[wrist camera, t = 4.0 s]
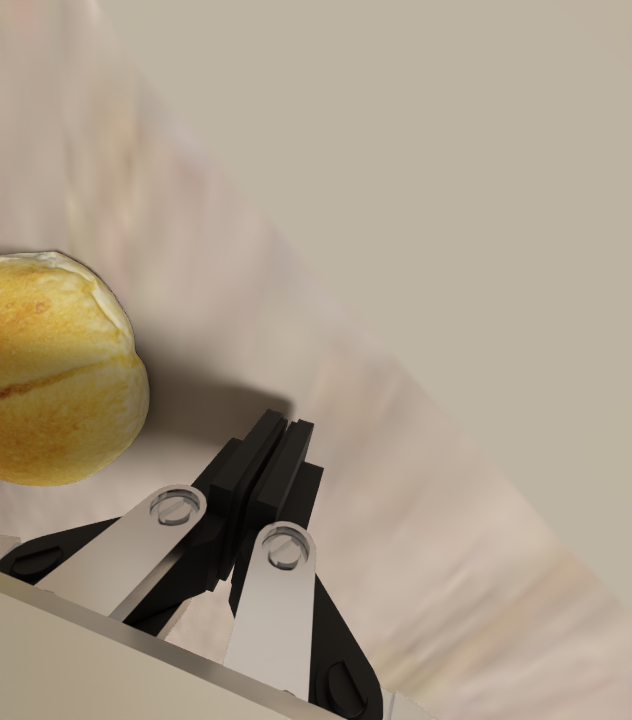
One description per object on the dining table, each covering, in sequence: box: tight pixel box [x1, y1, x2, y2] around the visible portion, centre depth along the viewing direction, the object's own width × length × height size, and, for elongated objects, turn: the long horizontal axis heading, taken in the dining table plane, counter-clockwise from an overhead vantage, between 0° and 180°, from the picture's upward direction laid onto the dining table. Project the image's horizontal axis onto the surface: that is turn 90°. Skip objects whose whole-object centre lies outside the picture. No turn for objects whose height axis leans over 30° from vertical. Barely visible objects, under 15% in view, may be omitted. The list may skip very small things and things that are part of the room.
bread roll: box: [0, 252, 150, 486], centre depth 12 cm, size 8×9×4 cm
